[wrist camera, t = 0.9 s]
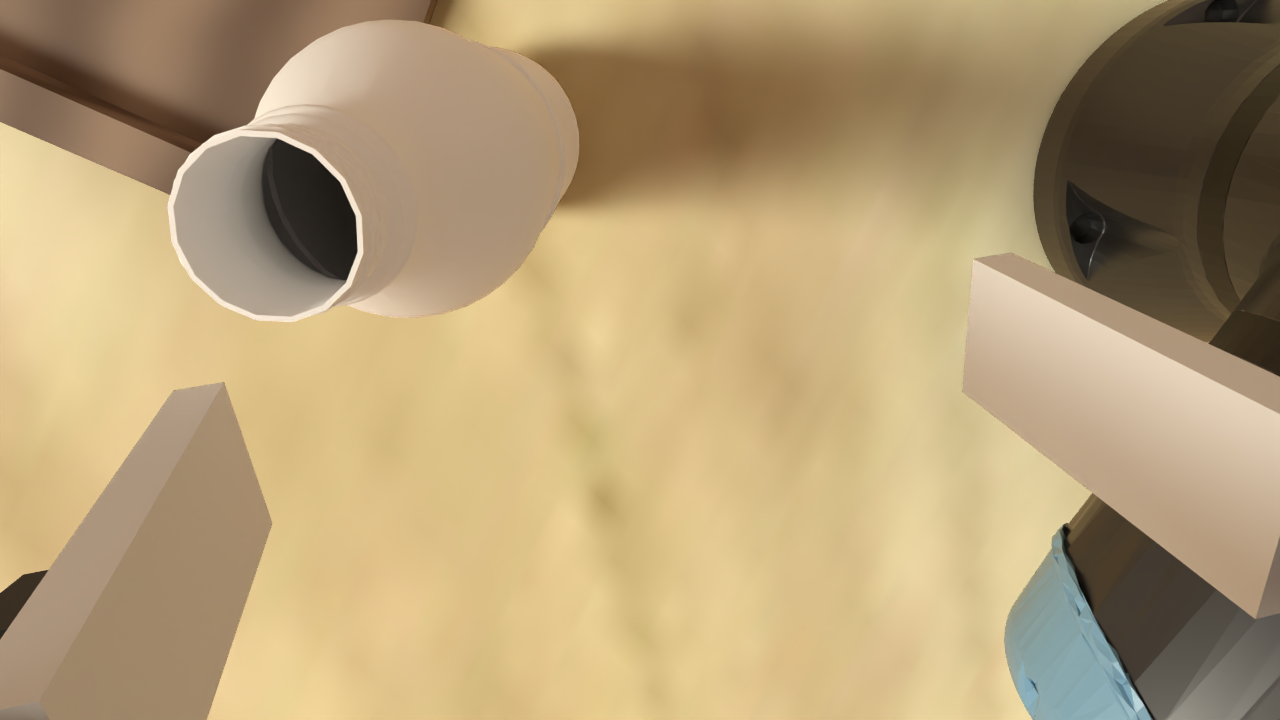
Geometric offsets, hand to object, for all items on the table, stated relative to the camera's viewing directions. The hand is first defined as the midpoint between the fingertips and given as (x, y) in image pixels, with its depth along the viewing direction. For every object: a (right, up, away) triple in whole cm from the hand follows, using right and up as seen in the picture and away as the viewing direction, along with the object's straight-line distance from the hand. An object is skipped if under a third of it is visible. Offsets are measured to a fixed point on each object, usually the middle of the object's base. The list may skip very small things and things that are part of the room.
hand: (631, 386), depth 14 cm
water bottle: (-6, +10, +22) cm, 25 cm away
